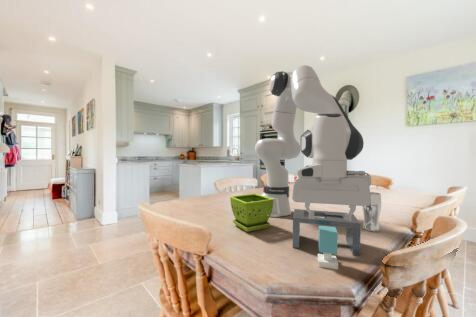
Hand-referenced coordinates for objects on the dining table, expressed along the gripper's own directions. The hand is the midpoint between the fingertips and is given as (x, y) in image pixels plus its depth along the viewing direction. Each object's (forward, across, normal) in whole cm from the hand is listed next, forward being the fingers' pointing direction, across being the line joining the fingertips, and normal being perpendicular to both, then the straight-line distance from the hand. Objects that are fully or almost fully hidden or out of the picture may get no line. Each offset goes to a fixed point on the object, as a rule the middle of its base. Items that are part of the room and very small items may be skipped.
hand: (329, 219), depth 62 cm
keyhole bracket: (+12, 0, -14) cm, 19 cm away
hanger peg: (+13, 0, 0) cm, 13 cm away
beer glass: (+13, -20, -36) cm, 43 cm away
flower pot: (+12, +28, -24) cm, 39 cm away
